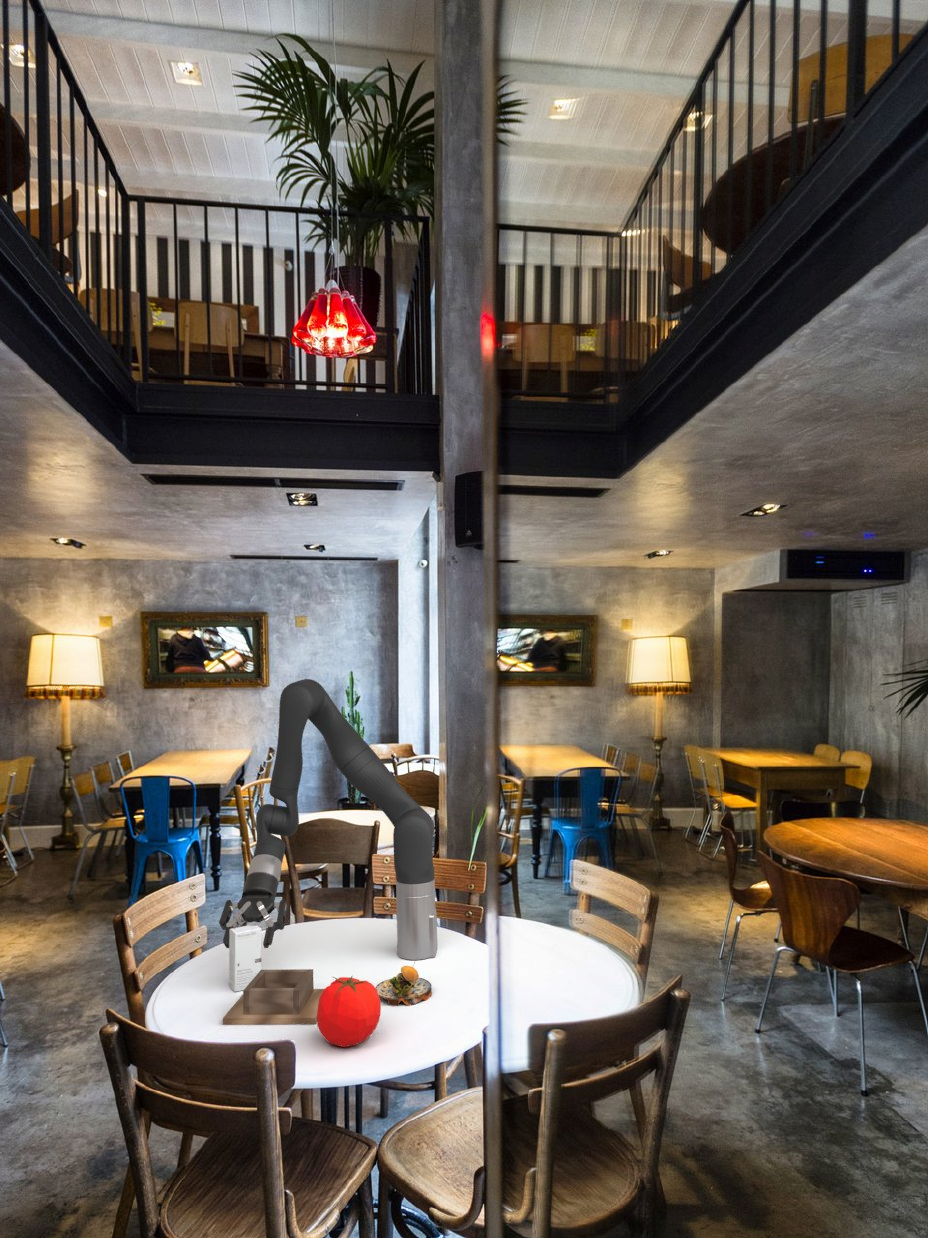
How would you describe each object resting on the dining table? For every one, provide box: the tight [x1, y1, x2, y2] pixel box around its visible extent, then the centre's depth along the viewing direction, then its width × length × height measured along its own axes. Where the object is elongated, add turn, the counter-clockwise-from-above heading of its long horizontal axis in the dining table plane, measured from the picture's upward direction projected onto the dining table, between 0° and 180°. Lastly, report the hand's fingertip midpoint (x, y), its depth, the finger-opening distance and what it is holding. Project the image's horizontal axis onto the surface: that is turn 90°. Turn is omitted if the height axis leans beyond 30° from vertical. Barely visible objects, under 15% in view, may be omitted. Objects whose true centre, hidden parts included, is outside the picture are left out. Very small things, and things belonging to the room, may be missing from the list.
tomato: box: [316, 975, 382, 1048], centre depth 141 cm, size 12×12×11 cm
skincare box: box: [228, 924, 263, 993], centre depth 169 cm, size 6×4×12 cm
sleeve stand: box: [222, 968, 325, 1026], centre depth 156 cm, size 18×14×6 cm
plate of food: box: [375, 960, 433, 1007], centre depth 162 cm, size 12×12×8 cm
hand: (246, 946), depth 170 cm, fingers open, 8 cm apart
